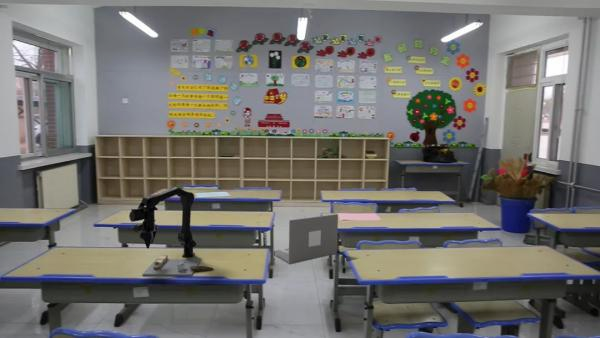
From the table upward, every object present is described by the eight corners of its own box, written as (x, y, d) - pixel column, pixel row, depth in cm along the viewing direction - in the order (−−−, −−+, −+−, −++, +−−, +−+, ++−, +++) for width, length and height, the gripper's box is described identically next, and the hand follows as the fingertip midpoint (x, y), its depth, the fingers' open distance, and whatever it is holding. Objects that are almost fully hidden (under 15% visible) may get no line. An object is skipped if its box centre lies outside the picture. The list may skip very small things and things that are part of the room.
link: (159, 269, 229) (159, 263, 229) (152, 269, 229) (152, 263, 229) (168, 258, 247) (168, 253, 247) (161, 258, 247) (161, 253, 247)
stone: (189, 271, 228) (189, 267, 228) (189, 268, 233) (189, 264, 232) (213, 271, 231) (213, 268, 231) (213, 268, 236) (213, 264, 235)
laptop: (313, 246, 283) (314, 206, 280) (337, 256, 262) (338, 214, 258) (268, 253, 265) (268, 212, 262) (289, 266, 243) (290, 220, 240)
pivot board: (156, 260, 247) (156, 258, 247) (200, 260, 248) (200, 259, 248) (142, 275, 222) (142, 274, 222) (191, 276, 223) (191, 274, 223)
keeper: (180, 267, 233) (180, 261, 233) (185, 267, 233) (185, 261, 233) (177, 271, 227) (177, 265, 227) (183, 271, 227) (183, 265, 227)
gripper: (138, 215, 241) (138, 241, 243) (129, 222, 223) (130, 251, 224) (158, 215, 243) (158, 241, 244) (151, 222, 224) (151, 250, 226)
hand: (149, 245), depth 235 cm, fingers open, 9 cm apart
